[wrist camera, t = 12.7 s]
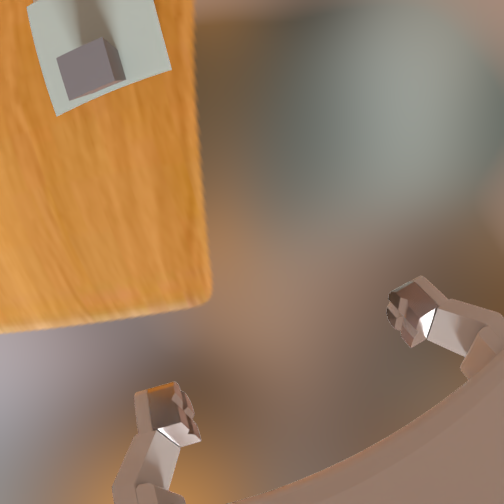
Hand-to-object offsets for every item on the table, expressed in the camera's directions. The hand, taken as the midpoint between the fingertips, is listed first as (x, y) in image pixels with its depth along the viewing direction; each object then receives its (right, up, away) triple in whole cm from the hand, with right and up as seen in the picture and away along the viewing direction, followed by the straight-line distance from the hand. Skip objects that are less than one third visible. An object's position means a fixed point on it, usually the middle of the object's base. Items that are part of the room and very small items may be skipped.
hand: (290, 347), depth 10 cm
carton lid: (-15, +22, +9) cm, 28 cm away
